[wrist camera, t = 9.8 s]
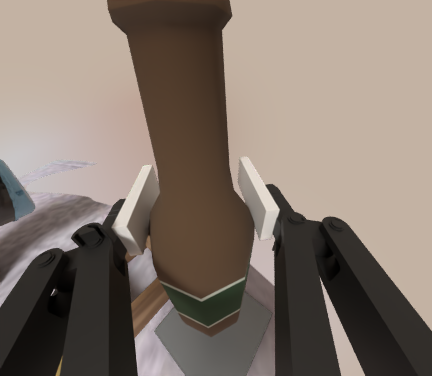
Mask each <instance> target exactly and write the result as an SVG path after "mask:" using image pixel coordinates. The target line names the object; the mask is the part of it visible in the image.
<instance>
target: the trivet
mask: <svg viewBox="0 0 432 376" xmlns="http://www.w3.org/2000/svg"><path fill="white" fill-rule="evenodd" d="M271 316H272V313H271V312H270V311H269V310H268V309H266V308H265V307H264V306H263V305H261V304H260V303H259V302H258V301H256V300H255V299H254V298H252V297H251V296H250V295H249V294H247V293H246V292H245V291H244V295H243V300H242V304H241V309H240V313H239V318H238V320H237V322H236V323H234V324H233V325H231V326H229V327H228V328H226V329H224V330H223V331H221V332H219V333H218V334H216V335H214V336H213V337H210V336H208V335H206V334H204V333H202V332H200V331H198V330H196V329H194V328H192V327H190V326H189V325H187V324H185V323H184V322H183V320H182V319H181V317H180V316H179V314H178V312H177V310H176V309H175V307H174V308H173V309H172V310H171V311H170V313H169V314H168V315H167V316H166V318H165V319H164V320H163V321H162V322H161V324H160V325H159V326H158V327H157V328H156V330H155V331H154V332H155V333H156V335H157V336H158V338H159V339H160V340H161V342H162V343H163V345H164V346H165V347H166V349H167V350H168V352H169V353H170V355H171V356H172V357H173V359H174V360H175V362H176V363H177V364H178V366H179V367H180V369H181V370H182V371H183V373H184V374H185V376H246V375H247V373H248V370H249V368H250V366H251V363H252V361H253V358H254V356H255V354H256V351H257V349H258V347H259V344H260V342H261V340H262V337H263V335H264V332H265V330H266V328H267V325H268V323H269V321H270V318H271Z"/></svg>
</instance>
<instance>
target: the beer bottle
mask: <svg viewBox="0 0 432 376" xmlns="http://www.w3.org/2000/svg"><path fill="white" fill-rule="evenodd" d="M107 3H108V10H109V13H110V16H111V19H112V22H113V23H114V24H115V25H116V26H117V27H119V28H120V29H121V30H122V31H123V32H124V33H125V34H126V35H127V39H128V43H129V47H130V52H131V56H132V60H133V65H134V69H135V73H136V77H137V82H138V87H139V91H140V95H141V99H142V104H143V108H144V113H145V117H146V121H147V126H148V130H149V134H150V139H151V143H152V147H153V152H154V156H155V161H156V165H157V169H158V178H159V190H160V193H159V195H158V197H157V199H156V201H155V203H154V205H153V207H152V209H151V211H150V219H149V234H150V242H151V250H152V258H153V265H154V268H155V270H156V273H157V276H158V279H159V281H160V283H161V284H162V286H163V288H164V290H165V291H166V293H167V295H168V296H169V298H170V300H171V302H172V303H173V305H174V307H175V309H176V310H177V312H178V314H179V316H180V317H181V319H182V320H183V322H184V323H185V324H187V325H189V326H190V327H192V328H194V329H196V330H198V331H200V332H202V333H204V334H206V335H208V336H210V337H213V336H214V335H216V334H218V333H219V332H221V331H223V330H224V329H226V328H228V327H229V326H231V325H233V324H234V323H236V322H237V320H238V318H239V313H240V309H241V304H242V300H243V295H244V291H245V286H246V281H247V275H248V269H249V264H250V258H251V253H252V247H253V241H254V229H255V226H254V225H255V223H254V220H253V218H252V215H251V212H250V210H249V208H248V206H247V205H246V204H245V203H244V202H243V200H242V199H241V198H240V197H239V195H238V194H237V193H236V192H235V191H234V188H233V183H232V178H231V173H230V167H229V152H228V132H227V114H226V96H225V79H224V61H223V60H224V59H223V41H222V29H223V28H224V27H225V25H226V24H227V22H228V21H229V20H230V19H231V17H232V12H231V6H230V1H229V0H107Z"/></svg>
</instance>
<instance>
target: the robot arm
mask: <svg viewBox="0 0 432 376" xmlns="http://www.w3.org/2000/svg"><path fill="white" fill-rule="evenodd" d="M238 175H239V176H238V184H239V187H240V189H241V192H242V195H243V197H244V200H245V203H246V205H247V206H248V208H249V210H250V212H251V215H252V218H253V220H254V223H255V225H254V226H255V229H256V232H257V234H258V237H259V239H260V240H267V239H271V238H272V234H273V235H274V237H275V242H274V246H273V249H272V250H273V251H274V268H275V270H274V271H275V376H341V373H340V368H339V363H338V359H337V354H336V350H335V345H334V341H333V336H332V332H331V327H330V323H329V318H328V313H327V309H326V305H325V300H324V295H323V290H322V286H321V282H320V278H321V280H322V282H323V285H324V287H325V289H326V290H327V293H328V295H329V298H330V300H331V302H332V304H333V306H334V308H335V310H336V313H337V315H338V317H339V319H340V321H341V324H342V326H343V328H344V330H345V332H346V334H347V337H348V339H349V341H350V343H351V345H352V347H353V350H354V352H355V354H356V356H357V358H358V361H359V363H360V365H361V367H362V369H363V371H364V374H365V376H432V331H431V330H430V328H429V327H428V326H427V325H426V323H425V322H424V321H423V319H422V318H421V317H420V316H419V314H418V313H417V312H416V310H415V309H414V308H413V307H412V305H411V304H410V303H409V302H408V300H407V299H406V298H405V297H404V295H403V294H402V293H401V291H400V290H399V289H398V288H397V287H396V285H395V284H394V283H393V281H392V280H391V279H390V278H389V277H388V275H387V274H386V272H385V271H384V270H383V268H382V267H381V266H380V265H379V263H378V262H377V261H376V260H375V258H374V257H373V256H372V254H371V253H370V252H369V251H368V249H367V248H366V247H365V246H364V244H363V243H362V242H361V240H360V239H359V238H358V237H357V235H356V234H355V233H354V232H353V230H352V229H351V228H350V227H349V225H348V224H347V223H345V222H344V221H342V220H341V219H338V218H336V217H326V218H324V219H323V220H322V222H319V221H311V220H307V219H306V218H305V217H304V216H303V215H301V214H299V213H297V212H294V210H293V209H292V208H291V206H290V205H289V203H288V202H287V201H286V199H285V198H284V196H283V195H282V194H281V192H280V190H279V189H278V188H277V187H276V186H274V185H273V184H268V185H265V184H264V183H263V181H262V179H261V178H260V176H259V174H258V173H257V171H256V169H255V168H254V166H253V164H252V163H251V161H250V159H249V158H248V157H240V158H239V173H238ZM159 193H160V190H159V184H158V181H157V178H156V175H155V171H154V168H153V165H144V166H143V167H142V169H141V171H140V173H139V175H138V177H137V179H136V181H135V183H134V185H133V187H132V189H131V190H130V193H129V195H128V196H127V198H126V199H120V200H119V201H118V202H116V203H115V204H114V205H113V207H112V209H111V211H110V212H109V214H108V216H107V217H106V219H105V221H104V223H103V224H102V225H101V224H99V223H89V224H87V225H84V226H82V227H81V228H79V229H78V230H77V231H76V232H75V233H74V234H73V235H72V237H71V239H72V240H73V241H74V242H75V243H76V244H77V245H78V246H79V247H78V248H75V249H73V250H70V251H67V252H64V251H63V250H62V249H59V248H53V249H50V250H47V251H45V252H43V253H42V254H40V255H39V256H37V257H36V258H35V259H34V260H33V261H32V262H31V263H30V265H29V266H28V268H27V269H26V270H25V272H24V273H23V275H22V276H21V278H20V279H19V281H18V282H17V284H16V285H15V287H14V288H13V289H12V291H11V292H10V294H9V295H8V297H7V298H6V300H5V301H4V303H3V304H2V305H1V307H0V376H56V373H57V370H58V367H59V364H60V361H61V359H62V363H61V369H60V375H59V376H138V373H137V362H136V351H135V340H134V330H133V319H132V308H131V297H130V286H129V276H128V265H127V260H126V258H125V256H126V253H127V252H128V253H129V254H130V256H135V255H143V253H144V249H145V245H146V242H147V238H148V234H149V219H150V211H151V209H152V207H153V205H154V203H155V201H156V199H157V197H158V195H159ZM34 209H35V204H34V202H33V200H32V199H31V197H30V196H29V195H28V193H27V192H26V190H25V189H24V187H23V186H22V185H21V183H20V182H19V181H18V179H17V178H16V177H15V175H14V174H13V173H12V171H11V170H10V169H9V167H8V166H7V165H6V164H5V162H4V161H2V160H0V226H2V225H5V224H7V223H9V222H12V221H13V222H14V221H17V220H18V219H19V218H21V217H23V216H25V215H27V214H29V213H31V212H33V211H34ZM319 276H320V277H319ZM54 289H55V291H54V293H53V294H52V292H53V290H54ZM51 294H52V296H51ZM62 356H63V357H62Z"/></svg>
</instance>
